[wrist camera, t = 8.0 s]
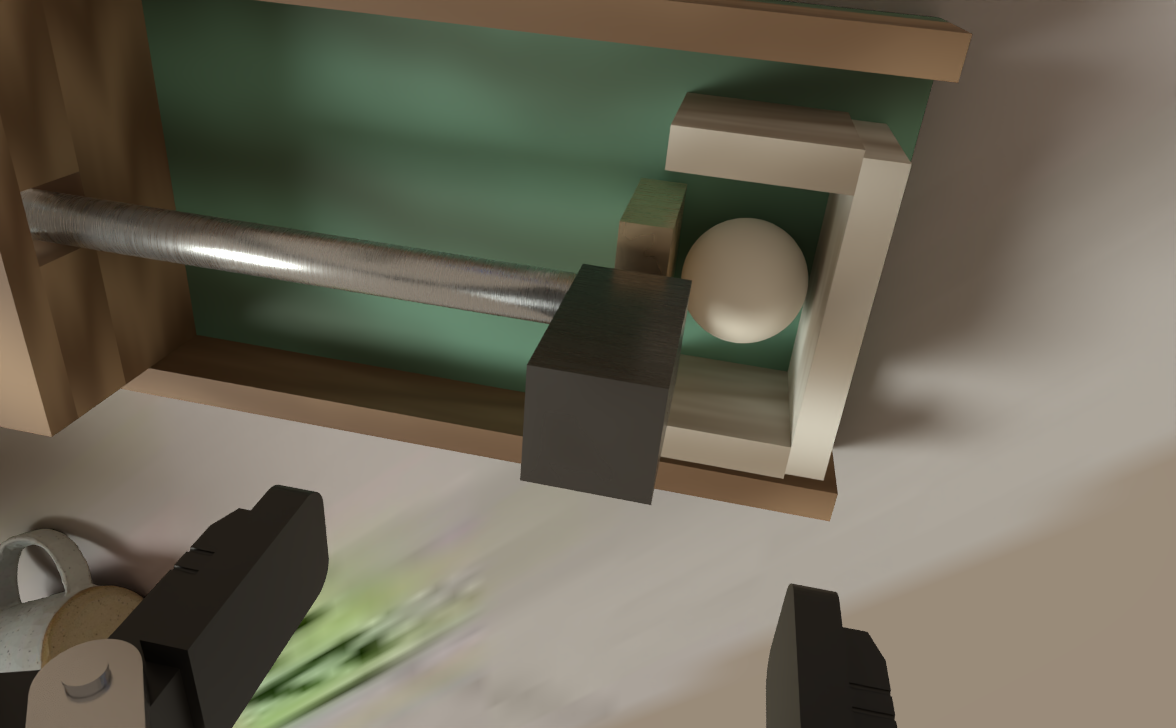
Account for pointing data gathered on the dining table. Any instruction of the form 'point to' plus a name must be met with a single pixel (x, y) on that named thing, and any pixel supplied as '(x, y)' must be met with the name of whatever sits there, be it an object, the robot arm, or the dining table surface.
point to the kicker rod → (559, 298)
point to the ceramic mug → (54, 605)
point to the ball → (745, 280)
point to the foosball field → (453, 203)
